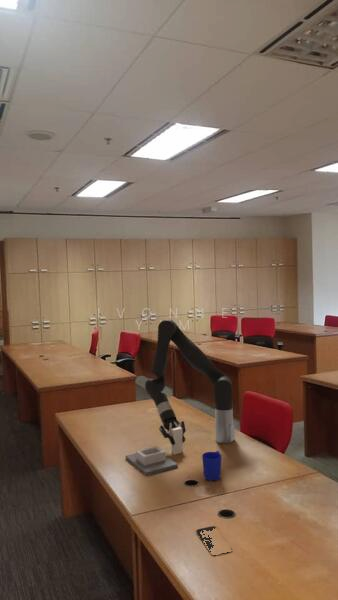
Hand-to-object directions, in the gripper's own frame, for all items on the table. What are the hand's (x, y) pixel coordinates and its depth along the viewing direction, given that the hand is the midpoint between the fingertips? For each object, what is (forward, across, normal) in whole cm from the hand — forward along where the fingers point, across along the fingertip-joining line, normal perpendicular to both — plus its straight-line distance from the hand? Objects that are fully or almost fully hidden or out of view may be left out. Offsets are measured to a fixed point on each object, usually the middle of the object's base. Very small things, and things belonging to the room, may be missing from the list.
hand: (178, 442), depth 224 cm
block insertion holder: (+5, -17, +2) cm, 18 cm away
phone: (+53, -28, -45) cm, 75 cm away
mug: (+25, 0, -17) cm, 30 cm away
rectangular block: (+2, 0, +5) cm, 6 cm away
